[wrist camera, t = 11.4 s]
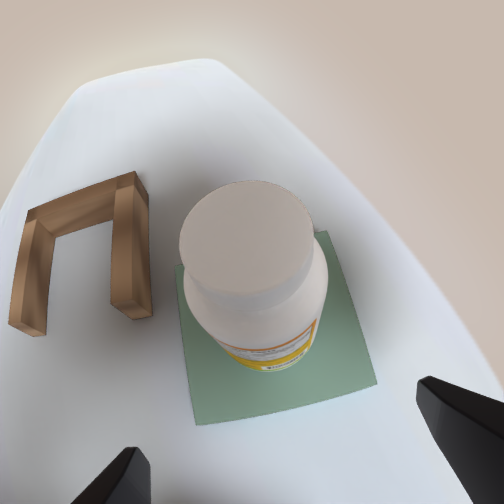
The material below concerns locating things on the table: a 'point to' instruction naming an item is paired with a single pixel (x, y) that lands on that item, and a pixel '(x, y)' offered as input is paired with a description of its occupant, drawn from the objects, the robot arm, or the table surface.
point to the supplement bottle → (254, 273)
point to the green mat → (286, 380)
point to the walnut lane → (75, 218)
